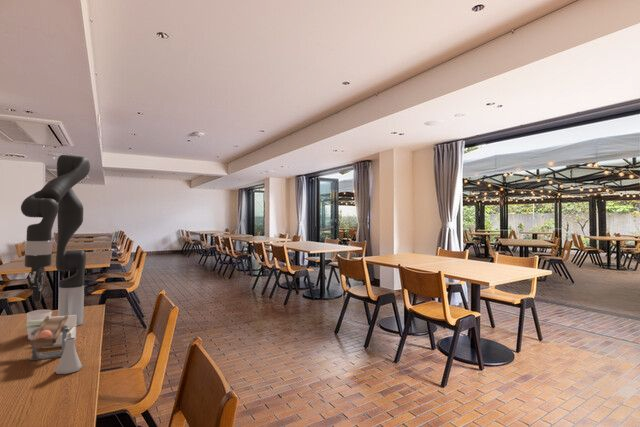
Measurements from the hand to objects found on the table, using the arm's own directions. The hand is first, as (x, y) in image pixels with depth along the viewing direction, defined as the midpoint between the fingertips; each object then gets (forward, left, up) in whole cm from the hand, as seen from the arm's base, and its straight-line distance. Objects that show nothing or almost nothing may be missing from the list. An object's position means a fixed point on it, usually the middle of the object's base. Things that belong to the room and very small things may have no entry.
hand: (36, 301), depth 126 cm
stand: (+7, +6, -18) cm, 20 cm away
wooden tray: (+7, +3, -10) cm, 13 cm away
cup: (-7, +6, -18) cm, 20 cm away
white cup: (-17, -3, -18) cm, 25 cm away
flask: (+22, +14, -18) cm, 32 cm away
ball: (+14, +6, -9) cm, 17 cm away
